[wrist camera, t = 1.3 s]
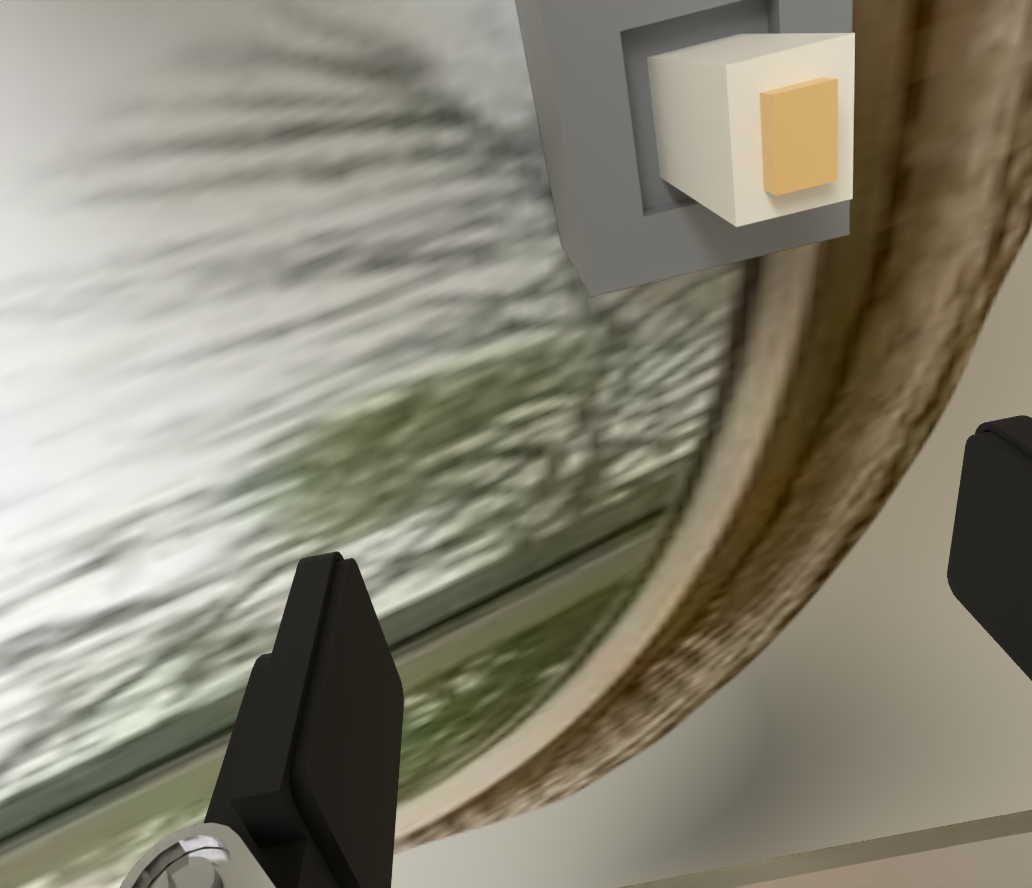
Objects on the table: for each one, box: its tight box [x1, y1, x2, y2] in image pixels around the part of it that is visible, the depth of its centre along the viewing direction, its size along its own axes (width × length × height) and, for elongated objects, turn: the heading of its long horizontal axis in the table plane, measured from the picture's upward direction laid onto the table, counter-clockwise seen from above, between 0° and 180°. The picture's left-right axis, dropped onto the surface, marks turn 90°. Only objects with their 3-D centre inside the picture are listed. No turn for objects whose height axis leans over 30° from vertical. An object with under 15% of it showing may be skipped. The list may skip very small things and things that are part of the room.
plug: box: [647, 33, 855, 227], centre depth 22 cm, size 4×3×9 cm
